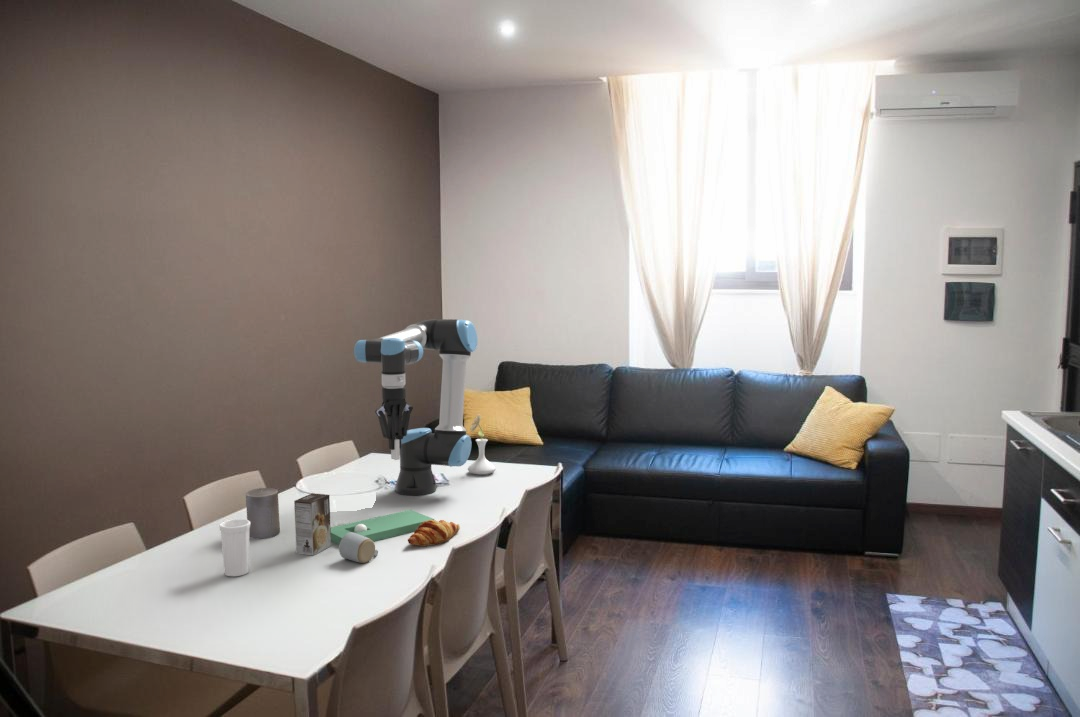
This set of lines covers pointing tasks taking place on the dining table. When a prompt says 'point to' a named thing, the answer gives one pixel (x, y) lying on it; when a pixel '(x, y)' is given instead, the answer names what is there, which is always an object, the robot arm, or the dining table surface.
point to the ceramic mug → (357, 548)
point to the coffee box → (312, 524)
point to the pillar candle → (263, 512)
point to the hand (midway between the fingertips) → (395, 458)
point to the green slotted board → (383, 526)
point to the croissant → (433, 532)
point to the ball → (360, 528)
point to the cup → (235, 546)
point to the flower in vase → (480, 453)
